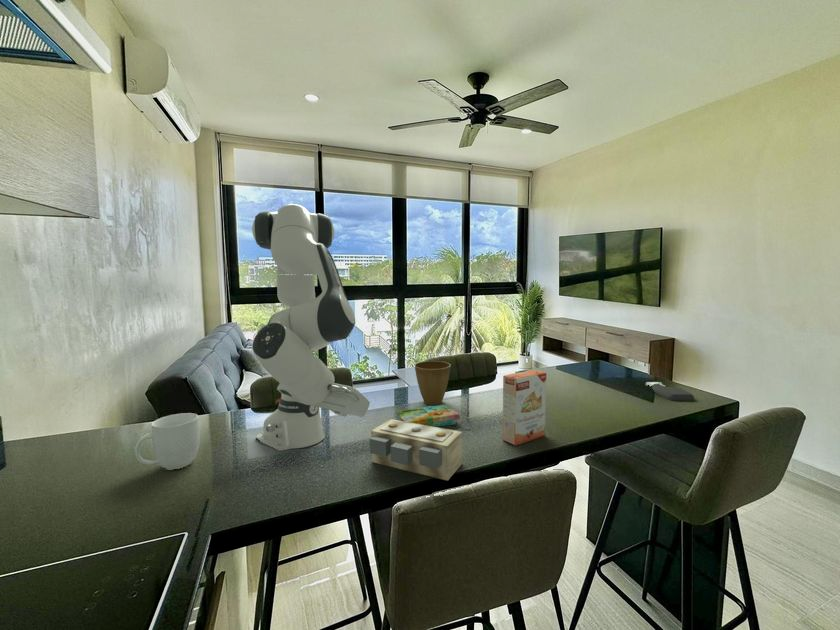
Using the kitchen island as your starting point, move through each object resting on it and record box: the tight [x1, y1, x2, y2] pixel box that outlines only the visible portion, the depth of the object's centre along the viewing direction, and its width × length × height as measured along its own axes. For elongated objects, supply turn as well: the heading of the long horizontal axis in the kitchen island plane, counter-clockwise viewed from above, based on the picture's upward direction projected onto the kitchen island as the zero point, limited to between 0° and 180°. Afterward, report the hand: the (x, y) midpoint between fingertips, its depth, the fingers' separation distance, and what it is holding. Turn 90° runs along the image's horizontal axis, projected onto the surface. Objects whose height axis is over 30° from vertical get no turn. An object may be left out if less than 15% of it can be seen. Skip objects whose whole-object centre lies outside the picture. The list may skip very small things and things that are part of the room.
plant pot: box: [414, 360, 452, 406], centre depth 157 cm, size 15×15×16 cm
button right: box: [419, 446, 442, 469], centre depth 95 cm, size 5×2×4 cm, turn 62°
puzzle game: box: [395, 404, 461, 427], centre depth 134 cm, size 12×5×20 cm
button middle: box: [391, 443, 413, 465], centre depth 97 cm, size 5×2×4 cm, turn 62°
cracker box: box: [501, 369, 547, 447], centre depth 119 cm, size 14×6×21 cm, turn 123°
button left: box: [369, 436, 391, 457], centre depth 102 cm, size 5×2×4 cm, turn 62°
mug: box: [134, 412, 200, 468], centre depth 104 cm, size 15×11×13 cm
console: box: [370, 418, 463, 482], centre depth 104 cm, size 23×10×10 cm, turn 62°
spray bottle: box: [645, 381, 695, 402], centre depth 166 cm, size 3×11×24 cm
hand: (342, 412), depth 90 cm, fingers closed
